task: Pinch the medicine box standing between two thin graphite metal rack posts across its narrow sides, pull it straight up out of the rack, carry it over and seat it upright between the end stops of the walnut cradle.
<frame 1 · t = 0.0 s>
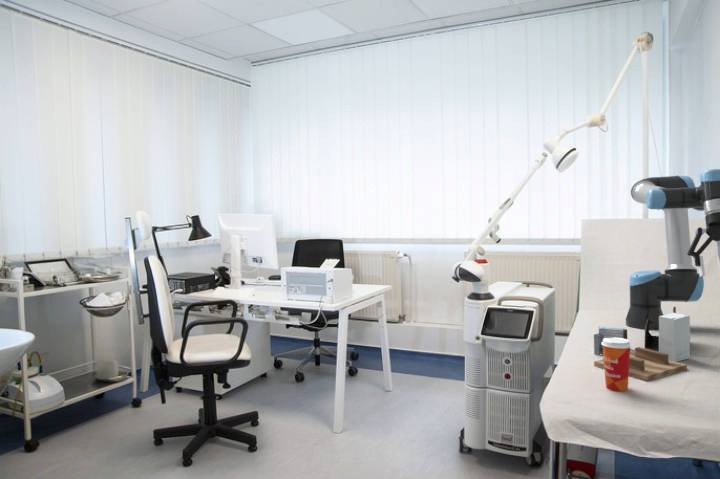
medicine box: (611, 351, 182), on the table
cradle: (639, 367, 162), on the table
letter holder: (661, 346, 187), on the table
skincare box: (674, 359, 170), on the table
paper cup: (616, 388, 145), on the table
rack: (611, 351, 182), on the table
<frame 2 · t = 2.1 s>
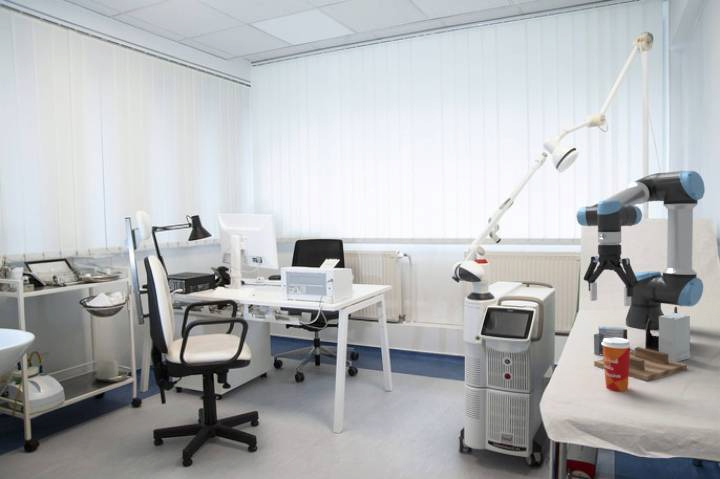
hand: (610, 303, 181), 17 cm above the table, tool pointing down, fingers open, 13 cm apart
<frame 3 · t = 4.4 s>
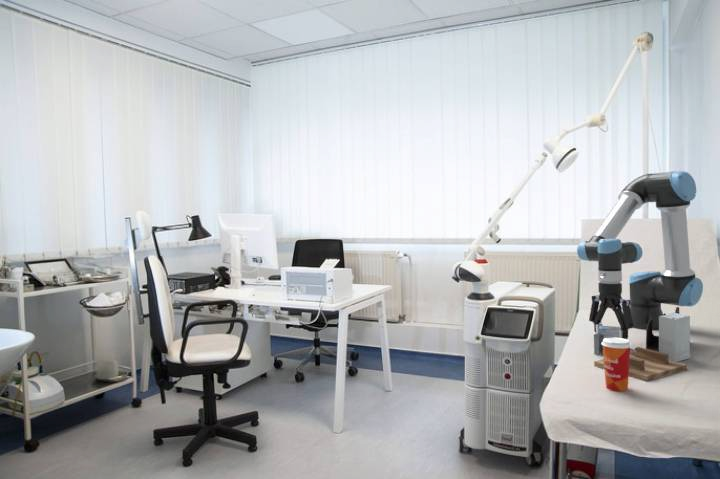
hand: (610, 344, 182), 2 cm above the table, tool pointing down, fingers closed on medicine box, 9 cm apart
medicine box: (611, 351, 182), on the table, touching gripper
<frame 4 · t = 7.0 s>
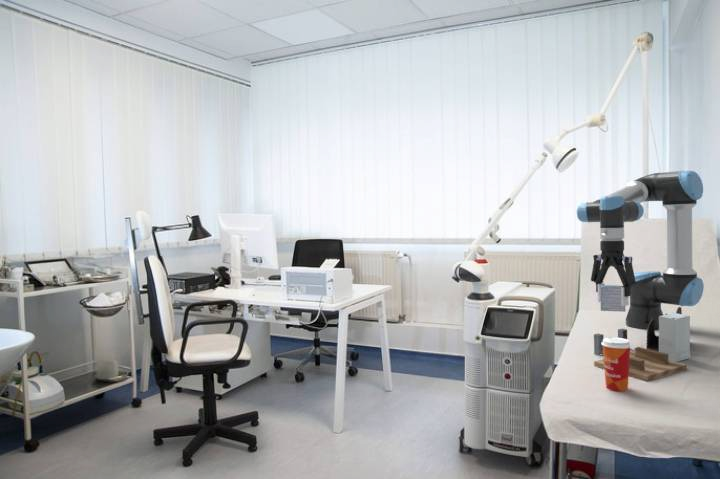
hand: (612, 303, 178), 18 cm above the table, tool pointing down, fingers closed on medicine box, 9 cm apart
medicine box: (612, 311, 178), point 15 cm above the table, touching gripper
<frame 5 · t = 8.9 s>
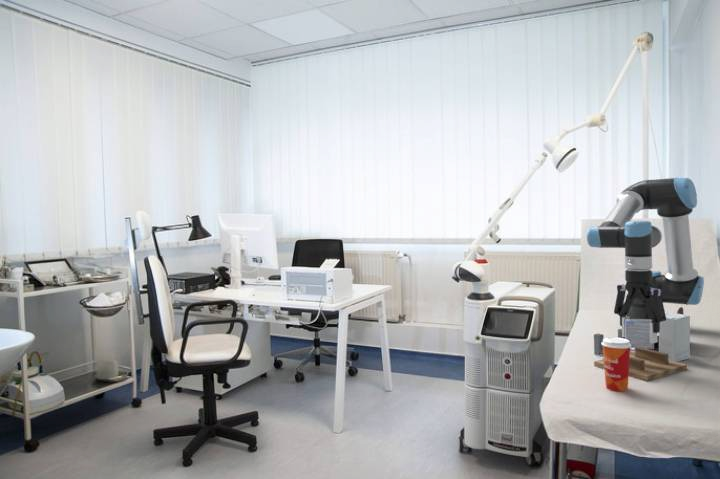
hand: (639, 339, 162), 9 cm above the table, tool pointing down, fingers closed on medicine box, 9 cm apart
medicine box: (639, 347, 162), point 7 cm above the table, touching gripper
when the fingers open (5 cm above the table, at t = 10.1 s): medicine box drops 1 cm, resting on cradle.
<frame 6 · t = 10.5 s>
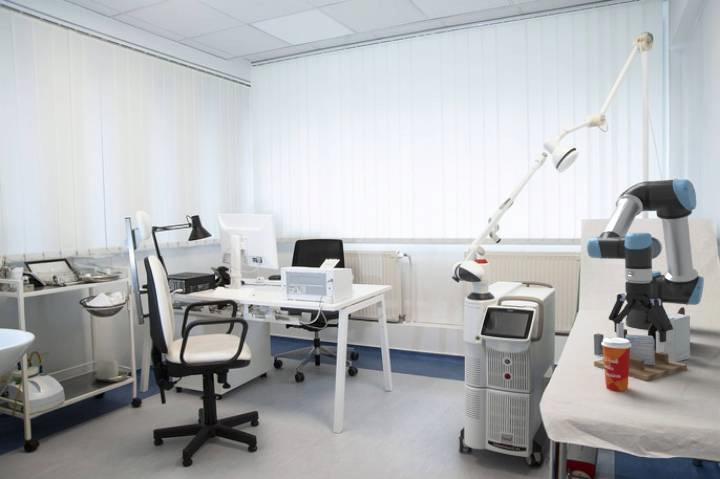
hand: (639, 347, 162), 7 cm above the table, tool pointing down, fingers open, 13 cm apart
medicine box: (639, 363, 162), point 1 cm above the table, touching cradle
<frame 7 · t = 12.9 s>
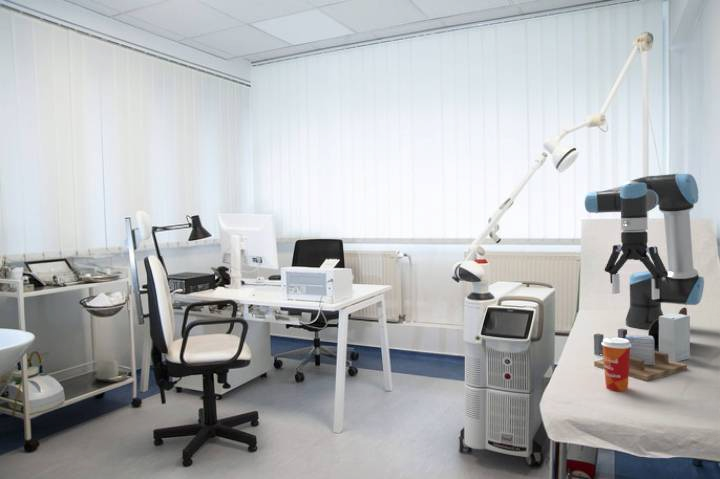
hand: (635, 296, 164), 23 cm above the table, tool pointing down, fingers open, 13 cm apart
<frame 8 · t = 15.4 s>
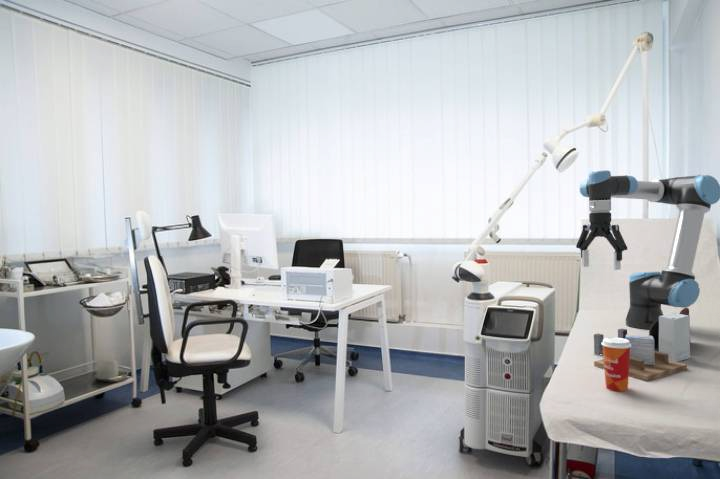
hand: (601, 268, 191), 29 cm above the table, tool pointing down, fingers open, 13 cm apart
at the end: medicine box inside the target area on the cradle (0.1 cm from its centre), point 1.3 cm above the cradle's base; medicine box tilted 0°; the gripper is holding nothing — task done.
